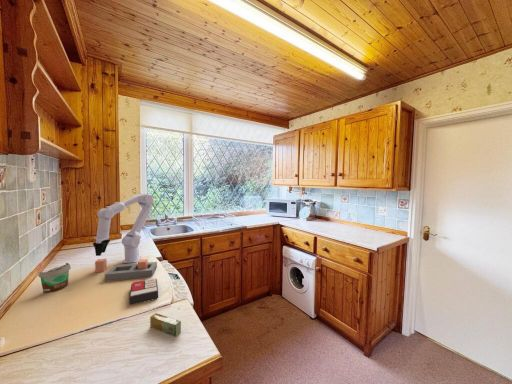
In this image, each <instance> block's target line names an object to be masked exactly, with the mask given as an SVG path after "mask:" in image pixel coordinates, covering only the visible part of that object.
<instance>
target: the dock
mask: <svg viewBox="0 0 512 384" xmlns="http://www.w3.org/2000/svg"><path fill="white" fill-rule="evenodd" d="M148 261H149V260H148V258H145V259H144V258H143V259H139V260H138V261H137V262H135V263H122V264H114V265H113V266H112V267H111V268H110V269H109V270H108V271H107V272H106V273H105V274H104V275H105V278H104V279H105V282H111V281H119V280H121V281H122V280H130V279H132V280H133V279H141V278H142V277H143V278H152V277H153V276H154V274H155V272H156V271H157V269H156V268H158V261H150V262H148ZM151 276H152V277H151Z"/></svg>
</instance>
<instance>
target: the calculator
mask: <svg viewBox="0 0 512 384" xmlns="http://www.w3.org/2000/svg"><path fill="white" fill-rule="evenodd" d="M157 298H158V299H159V286H158V279H157V278H155V277H154V278H149V279H145V280H144V279H143V280H139V281H133V282H132V283H131V285H130V290H129V296H128V299H129V303H128V304H129V305H130V306H132V305H137V304H140V302H141V303H144V301H146V302H149V301H148V300H150V301H153V300H152V299H154V300H157ZM136 303H137V304H136Z"/></svg>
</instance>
